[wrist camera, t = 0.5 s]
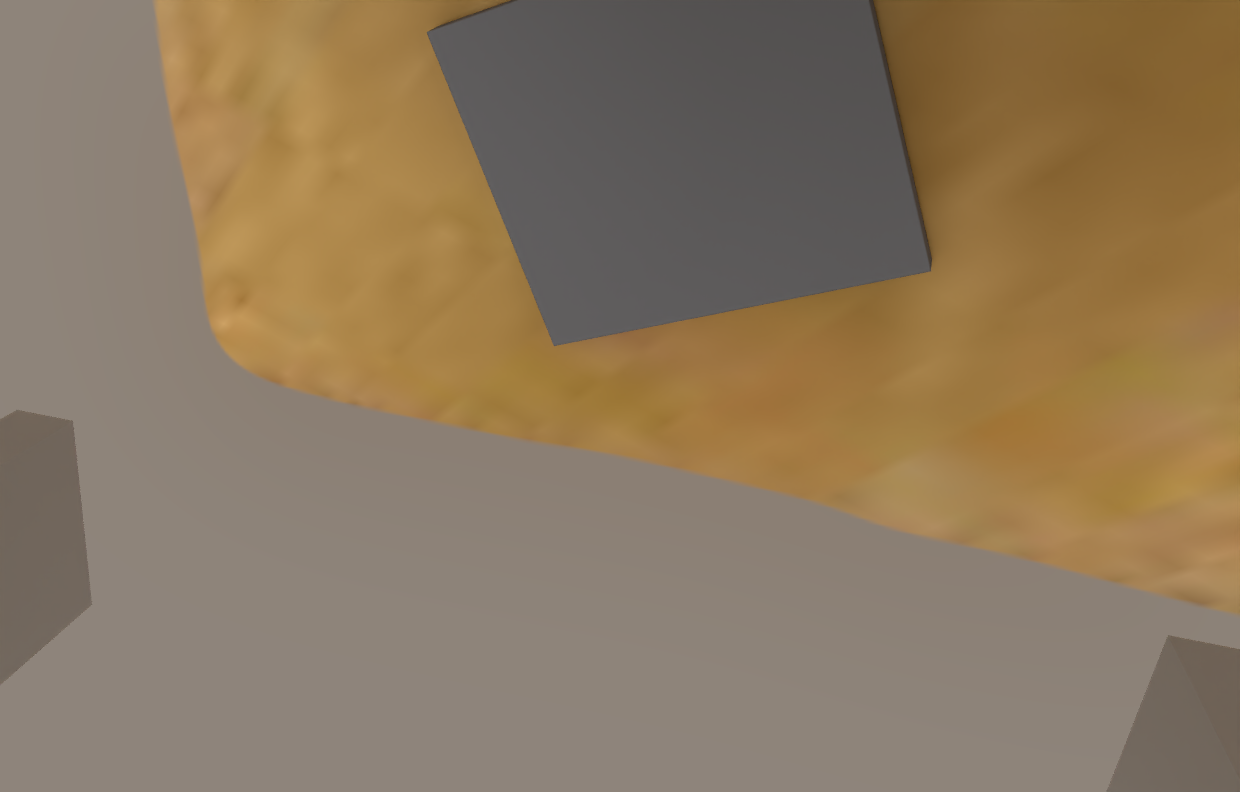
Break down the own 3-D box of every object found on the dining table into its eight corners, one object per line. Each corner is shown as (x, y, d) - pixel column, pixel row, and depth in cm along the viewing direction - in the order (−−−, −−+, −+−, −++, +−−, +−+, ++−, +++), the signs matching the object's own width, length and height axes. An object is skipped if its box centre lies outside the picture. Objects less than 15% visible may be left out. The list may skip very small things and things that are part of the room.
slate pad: (846, -118, 30) (842, -114, 30) (931, 258, 35) (930, 271, 35) (439, 25, 36) (426, 32, 35) (562, 333, 41) (554, 345, 40)
